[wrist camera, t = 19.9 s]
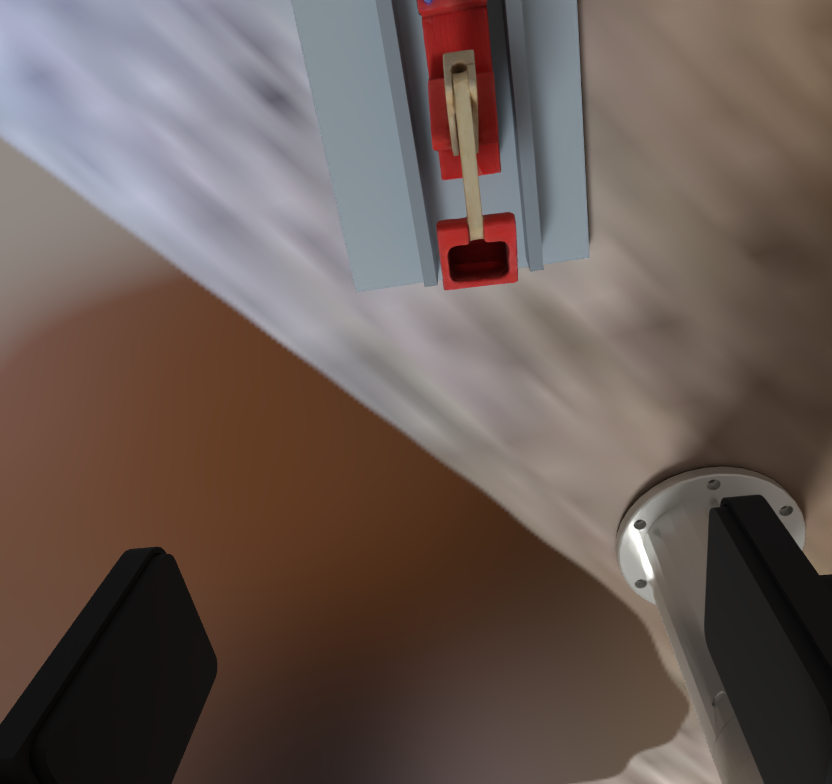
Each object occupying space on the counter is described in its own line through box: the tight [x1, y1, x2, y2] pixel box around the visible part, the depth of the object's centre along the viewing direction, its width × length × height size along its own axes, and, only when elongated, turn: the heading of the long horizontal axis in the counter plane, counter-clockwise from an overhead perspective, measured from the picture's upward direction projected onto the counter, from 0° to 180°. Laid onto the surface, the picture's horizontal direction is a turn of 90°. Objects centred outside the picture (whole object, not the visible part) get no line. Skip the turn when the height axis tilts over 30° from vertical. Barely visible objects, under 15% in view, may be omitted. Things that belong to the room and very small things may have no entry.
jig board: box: [291, 0, 589, 292], centre depth 31 cm, size 23×14×4 cm, turn 10°
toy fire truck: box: [416, 0, 518, 290], centre depth 28 cm, size 3×14×10 cm, turn 8°
